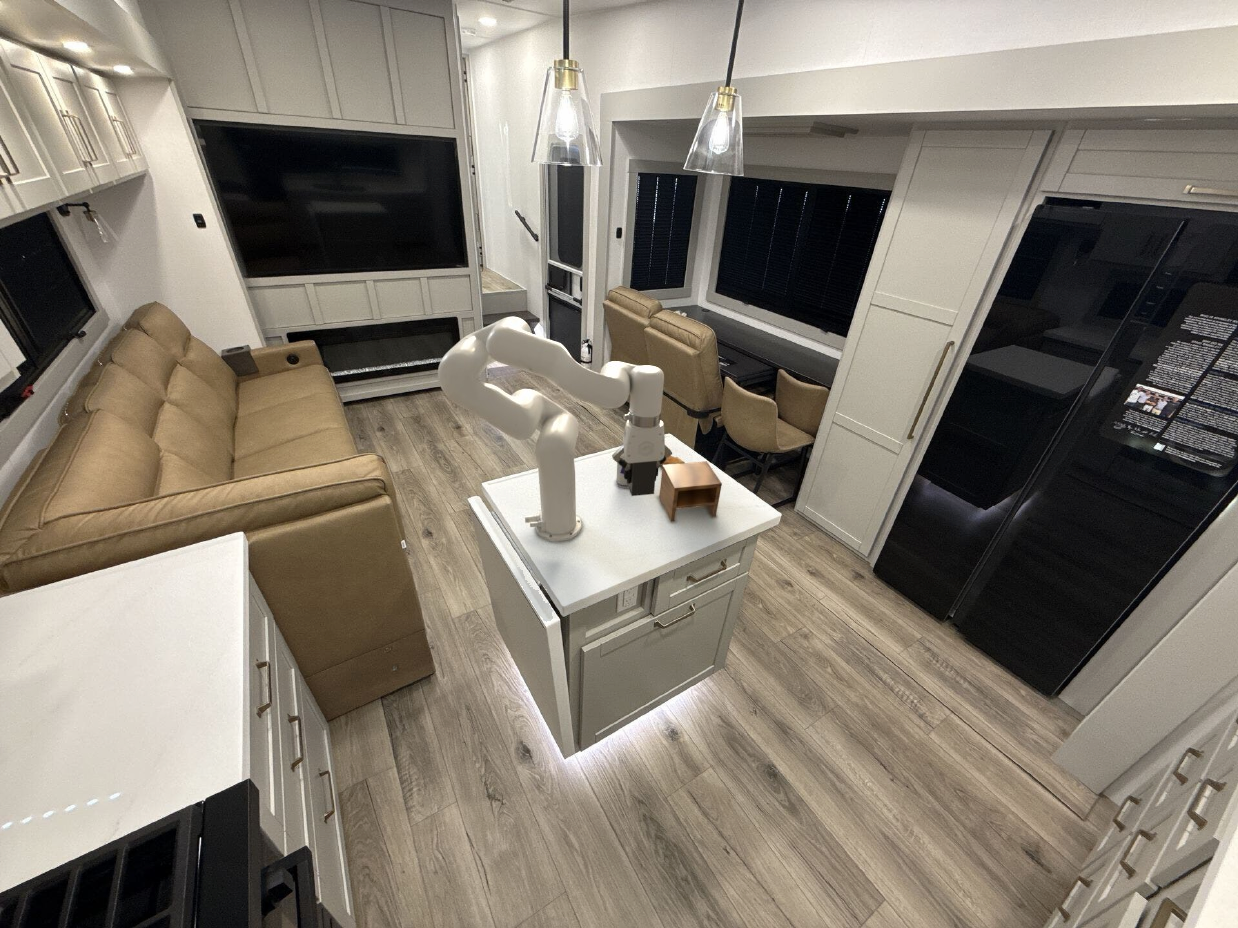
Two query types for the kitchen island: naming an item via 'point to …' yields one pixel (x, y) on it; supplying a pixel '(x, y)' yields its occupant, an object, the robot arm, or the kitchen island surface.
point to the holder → (642, 478)
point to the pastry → (672, 461)
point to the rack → (689, 487)
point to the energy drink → (621, 475)
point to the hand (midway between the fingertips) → (640, 478)
